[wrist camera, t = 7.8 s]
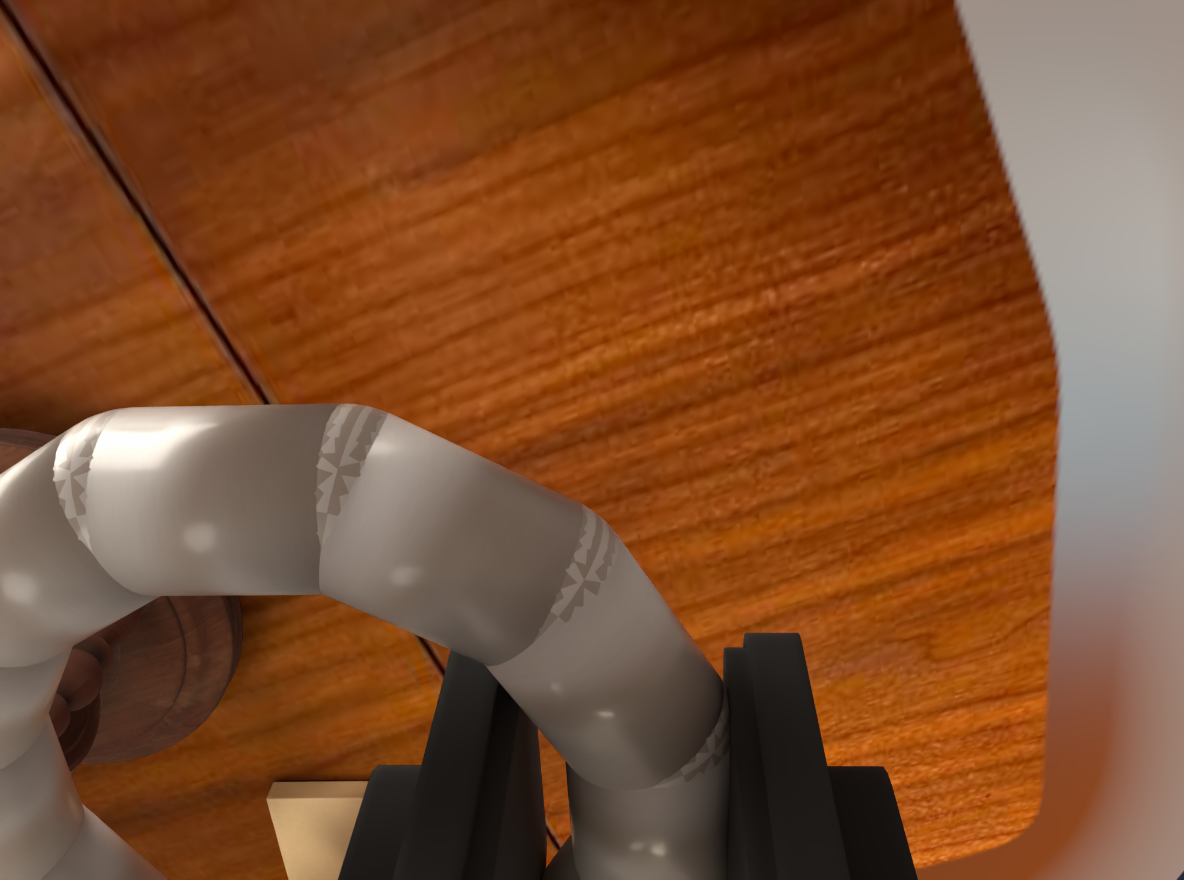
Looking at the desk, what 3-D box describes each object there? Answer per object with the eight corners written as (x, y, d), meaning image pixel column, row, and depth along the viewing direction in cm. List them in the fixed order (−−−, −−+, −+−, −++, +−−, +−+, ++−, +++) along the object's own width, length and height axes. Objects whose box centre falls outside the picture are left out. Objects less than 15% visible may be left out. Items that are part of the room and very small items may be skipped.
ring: (736, 365, 9) (751, 453, 8) (721, 995, 13) (730, 1131, 11) (-201, 383, 9) (-350, 471, 8) (58, 984, 13) (-12, 1114, 12)
